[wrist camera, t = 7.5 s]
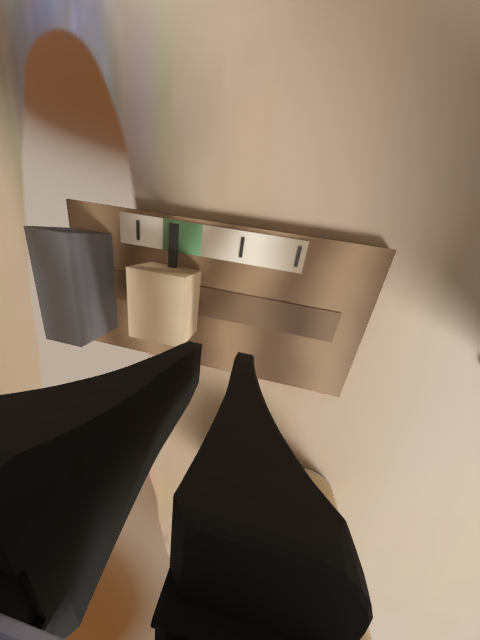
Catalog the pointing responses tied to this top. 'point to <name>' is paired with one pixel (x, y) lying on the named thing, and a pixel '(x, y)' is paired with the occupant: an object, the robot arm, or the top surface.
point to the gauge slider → (163, 298)
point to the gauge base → (214, 290)
